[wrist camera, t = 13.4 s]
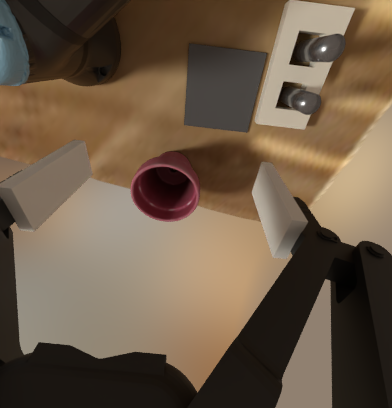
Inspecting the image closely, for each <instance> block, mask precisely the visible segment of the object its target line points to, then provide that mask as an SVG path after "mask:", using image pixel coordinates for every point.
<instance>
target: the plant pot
mask: <svg viewBox="0 0 392 408" xmlns="http://www.w3.org/2000/svg"><path fill="white" fill-rule="evenodd" d="M170 168H173V169H176V170H177V171H172V170H171V169H170ZM131 196H132V199H133V201H134V203H135V205H136V206H137V207H138V209H139V210H140V211H141V212H143V213H144V214H145V215H147V216H149V217H151V218H153V219H156V220H160V221H166V222H171V221H178V220H181V219H183V218H186V217H187V216H189V215H190V214H191V213H192V212H193V211H194V210H195V209H196V207H197V205H198V202H199V197H200V182H199V179H198V176H197V175H196V173H195V171H194V170H193V169H192V167H191V164H190V162H189V160H188V159H187V158H186V157H185V156H184V155H183V154H181V153H178V152H174V151H170V152H165V153H163V154H162V155H160V156H159V157H155V158H152V159H150V160H148V161H146V162H145V163H144V164H142V165H141V167H140V168H139V169H138V171H137V173H136V174H135V176H134V178H133V180H132V183H131Z"/></svg>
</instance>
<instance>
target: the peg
mask: <svg viewBox="0 0 392 408" xmlns="http://www.w3.org/2000/svg"><path fill="white" fill-rule="evenodd" d="M344 48H345V38H344V36H343V35H341V34H332V35H328V36H323V37H318V38H313V39H309V40H304V41H301V42H299V43H298V44H297V45H296V46H295V48H294V50H293V58H294V60H295V61H297V62H332V61H334V60H336V59H337V58H338V57H339V56H340V55H341V54H342V52H343V51H344Z"/></svg>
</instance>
